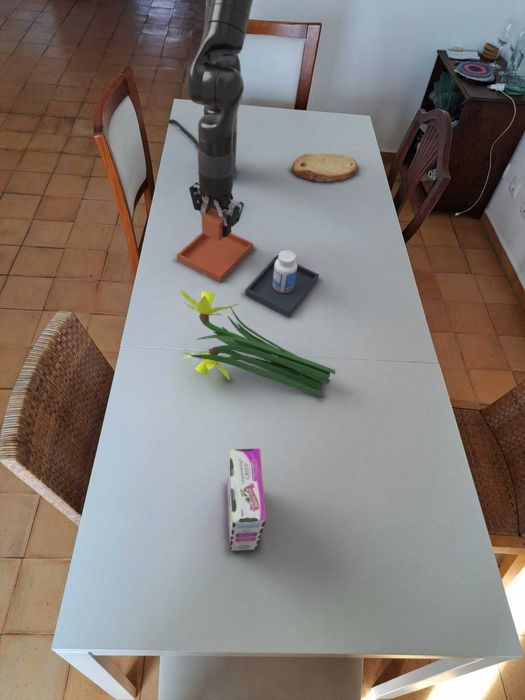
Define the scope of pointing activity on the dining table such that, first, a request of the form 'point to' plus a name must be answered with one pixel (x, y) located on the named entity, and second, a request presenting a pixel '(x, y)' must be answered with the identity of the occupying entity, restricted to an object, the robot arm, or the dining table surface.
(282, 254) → the pill bottle
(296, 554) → the dining table surface
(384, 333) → the dining table surface
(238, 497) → the candy bar box
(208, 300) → the daffodil flowers
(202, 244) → the terracotta tray
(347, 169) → the slice of bread
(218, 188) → the robot arm
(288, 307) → the slate tray
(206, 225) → the terracotta block
